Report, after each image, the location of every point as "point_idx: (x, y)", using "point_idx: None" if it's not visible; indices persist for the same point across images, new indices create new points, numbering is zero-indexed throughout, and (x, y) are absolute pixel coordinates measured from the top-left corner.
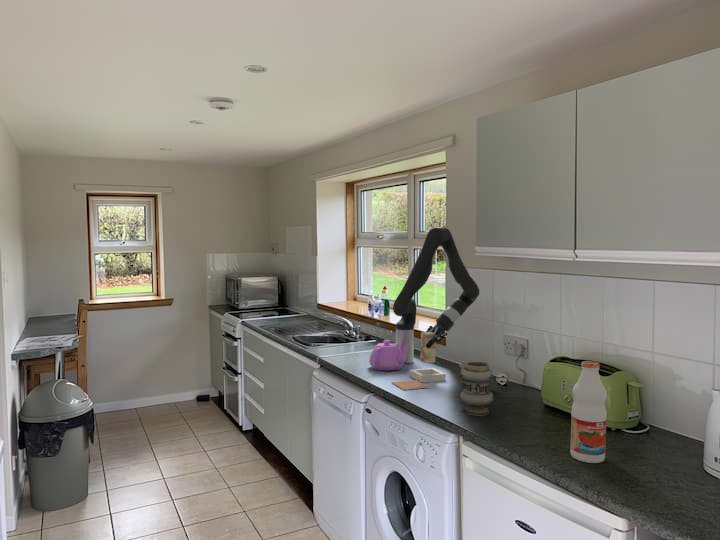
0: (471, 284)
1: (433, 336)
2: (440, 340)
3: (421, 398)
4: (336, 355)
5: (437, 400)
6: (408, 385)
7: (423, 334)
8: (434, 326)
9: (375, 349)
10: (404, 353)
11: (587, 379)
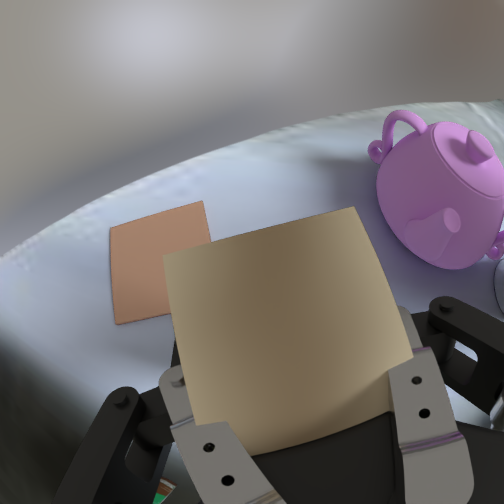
0: None
1: (189, 404)
2: (131, 462)
3: (41, 269)
4: (494, 131)
5: (21, 307)
6: (148, 251)
7: (257, 239)
8: (456, 494)
9: (400, 110)
10: (425, 232)
11: None
